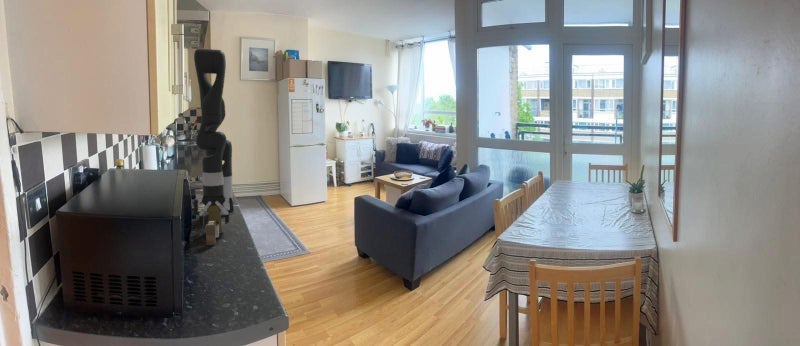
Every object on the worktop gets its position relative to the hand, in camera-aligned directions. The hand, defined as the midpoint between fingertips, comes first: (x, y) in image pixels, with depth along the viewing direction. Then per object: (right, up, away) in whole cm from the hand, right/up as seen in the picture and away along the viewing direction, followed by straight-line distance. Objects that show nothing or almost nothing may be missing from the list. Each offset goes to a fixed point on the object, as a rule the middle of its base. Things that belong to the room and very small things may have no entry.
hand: (214, 224), depth 179 cm
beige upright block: (+4, -5, -13) cm, 15 cm away
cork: (0, -3, +1) cm, 3 cm away
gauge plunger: (+2, -4, -7) cm, 8 cm away
